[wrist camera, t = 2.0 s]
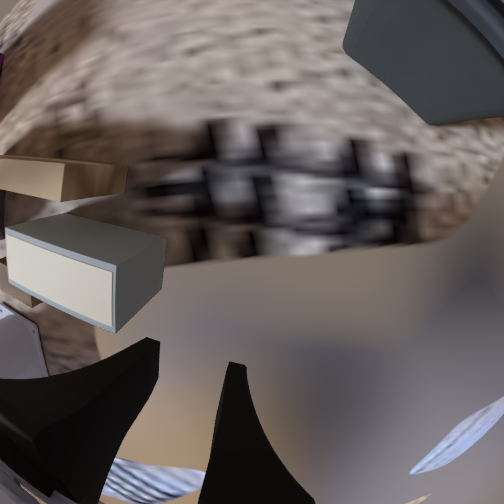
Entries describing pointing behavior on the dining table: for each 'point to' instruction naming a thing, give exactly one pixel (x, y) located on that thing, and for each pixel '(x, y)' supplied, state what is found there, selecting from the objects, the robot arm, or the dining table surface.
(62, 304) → the boxed book
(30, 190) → the shelf wall
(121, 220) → the dining table surface
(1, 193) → the bookend
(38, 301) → the walnut block
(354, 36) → the storage bin
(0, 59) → the candy bar box
